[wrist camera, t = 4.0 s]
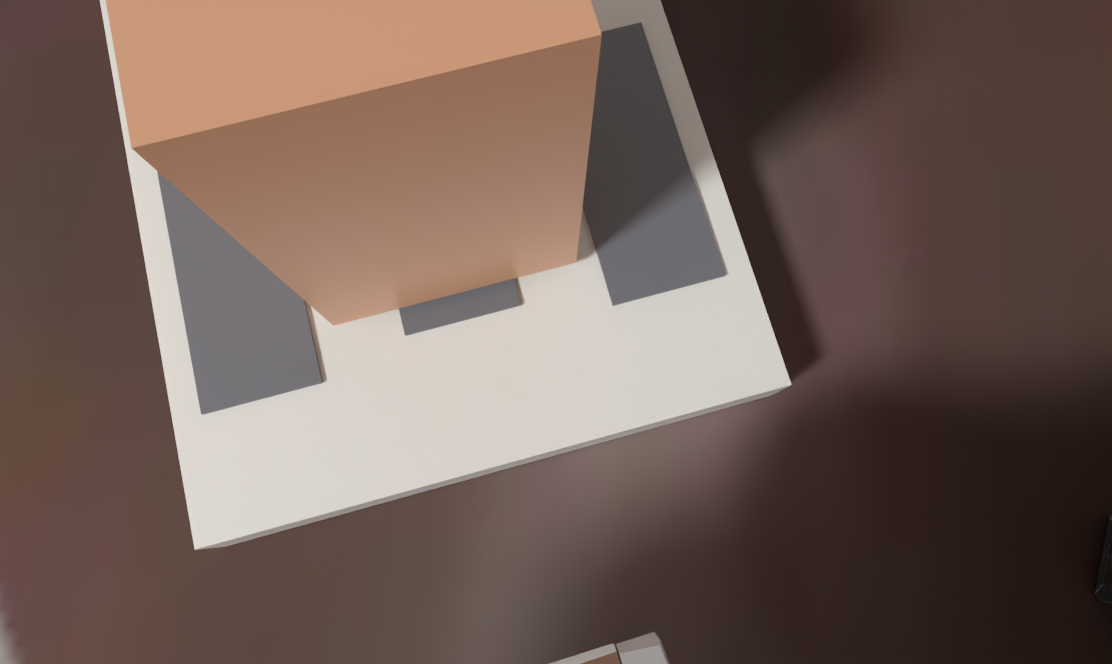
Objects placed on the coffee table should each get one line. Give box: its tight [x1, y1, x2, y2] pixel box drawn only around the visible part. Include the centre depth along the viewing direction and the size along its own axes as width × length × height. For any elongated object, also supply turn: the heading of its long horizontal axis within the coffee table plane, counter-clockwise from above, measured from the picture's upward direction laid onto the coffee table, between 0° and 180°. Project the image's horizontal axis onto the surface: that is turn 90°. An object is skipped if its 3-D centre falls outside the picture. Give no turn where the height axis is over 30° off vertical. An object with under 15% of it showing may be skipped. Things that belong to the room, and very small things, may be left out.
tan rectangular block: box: [106, 0, 602, 326], centre depth 13 cm, size 5×4×8 cm
